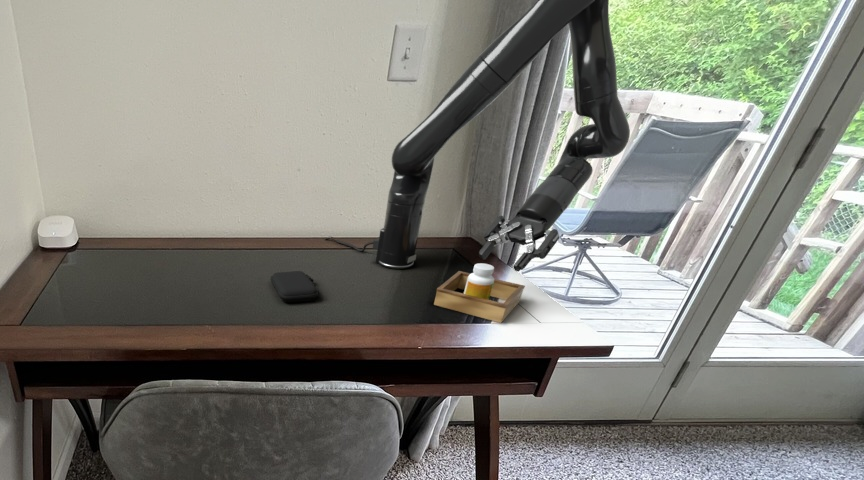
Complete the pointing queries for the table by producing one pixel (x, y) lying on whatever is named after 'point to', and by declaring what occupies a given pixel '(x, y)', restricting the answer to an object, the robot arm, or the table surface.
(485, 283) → the supplement bottle
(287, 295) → the carrying case
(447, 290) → the wooden box frame
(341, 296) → the table surface
